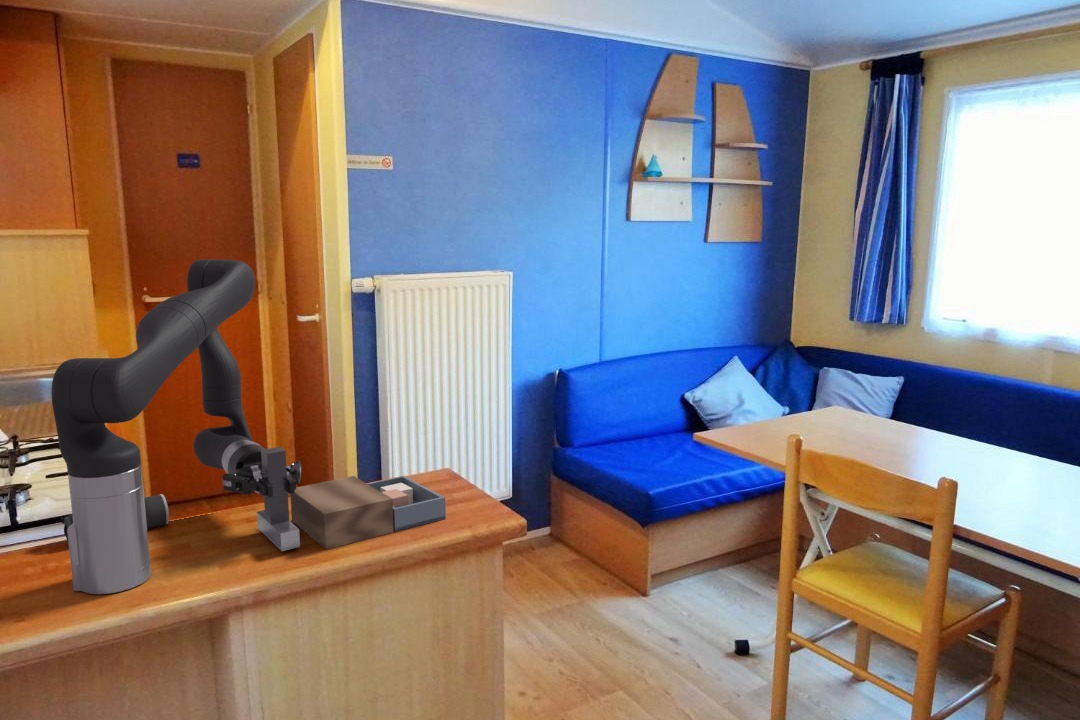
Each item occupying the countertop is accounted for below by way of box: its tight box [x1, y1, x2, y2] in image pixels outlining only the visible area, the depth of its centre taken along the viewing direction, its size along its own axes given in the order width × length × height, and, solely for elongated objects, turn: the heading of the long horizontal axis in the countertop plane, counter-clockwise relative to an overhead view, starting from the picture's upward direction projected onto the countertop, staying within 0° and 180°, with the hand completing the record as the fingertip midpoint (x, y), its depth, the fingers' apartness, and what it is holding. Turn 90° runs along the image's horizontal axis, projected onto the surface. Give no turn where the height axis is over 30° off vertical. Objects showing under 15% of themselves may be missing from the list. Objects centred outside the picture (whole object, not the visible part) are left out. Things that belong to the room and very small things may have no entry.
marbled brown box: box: [289, 475, 395, 550], centre depth 132 cm, size 12×16×6 cm
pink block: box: [382, 489, 408, 508], centre depth 135 cm, size 4×4×3 cm
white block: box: [381, 483, 413, 505], centre depth 142 cm, size 4×4×3 cm
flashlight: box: [63, 493, 170, 545], centre depth 130 cm, size 15×5×5 cm, turn 131°
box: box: [367, 475, 447, 532], centre depth 139 cm, size 10×16×4 cm, turn 37°
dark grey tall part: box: [256, 446, 301, 552], centre depth 125 cm, size 3×12×15 cm, turn 37°
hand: (281, 489), depth 122 cm, fingers closed on dark grey tall part, 3 cm apart
